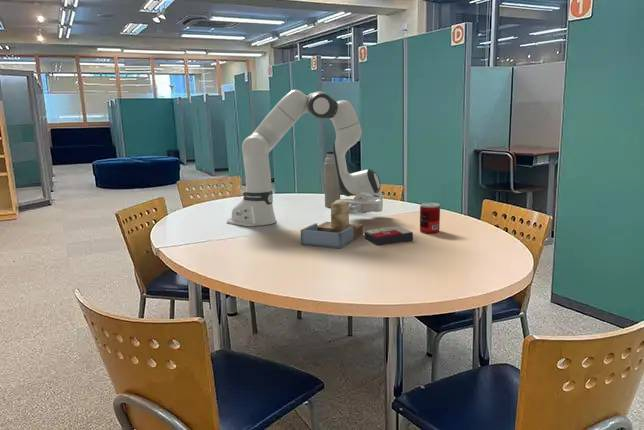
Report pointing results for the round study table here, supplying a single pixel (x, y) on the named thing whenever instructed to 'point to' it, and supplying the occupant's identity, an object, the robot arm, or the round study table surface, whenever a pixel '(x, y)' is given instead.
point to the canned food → (429, 218)
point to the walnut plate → (341, 229)
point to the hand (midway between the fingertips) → (351, 208)
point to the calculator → (388, 235)
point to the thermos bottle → (330, 180)
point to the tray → (326, 237)
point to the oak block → (339, 214)
